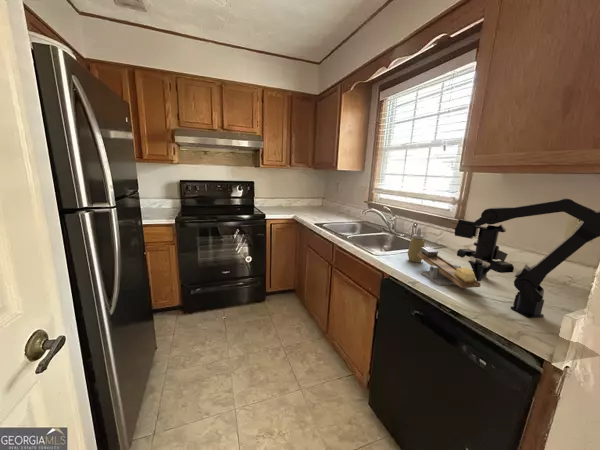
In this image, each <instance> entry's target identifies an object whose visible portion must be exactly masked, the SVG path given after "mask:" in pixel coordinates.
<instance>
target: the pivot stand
mask: <svg viewBox="0 0 600 450" xmlns="http://www.w3.org/2000/svg"><path fill="white" fill-rule="evenodd" d="M453 265H454V266H455V267H457V268H462V266H461V265H458V264H453ZM420 275H422V276H423V277H425V278H426V279H429V280H430V281H432V282H433V283H435V284H437V285H439V286H451V285H452V286H455V285H457V284H455V283H454V282H453V281H451V280H450V279H449V278H447V277H446V276H444V275H443V274H442V273H440V272H439V271H438V267H436V266H431V265H430V267H429V271H421V272H420ZM457 286H458V285H457Z"/></svg>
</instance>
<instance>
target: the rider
mask: <svg viewBox="0 0 600 450" xmlns="http://www.w3.org/2000/svg"><path fill="white" fill-rule="evenodd" d="M472 270H473V269H470V268H468V267H461V268H457V269H456V272H455V275H454V276H456V277H457V278H458V279H460V280H461V281H463V282H464V283H474V282H475V280H476V277H475V274H474V272H473V271H472Z"/></svg>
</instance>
